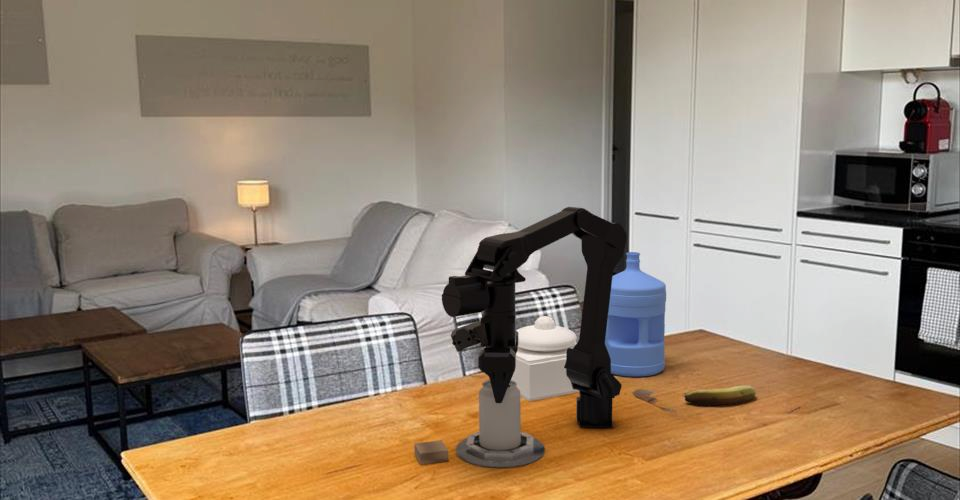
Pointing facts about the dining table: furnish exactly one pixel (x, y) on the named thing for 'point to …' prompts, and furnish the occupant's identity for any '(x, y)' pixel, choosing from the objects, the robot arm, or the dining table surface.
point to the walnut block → (431, 452)
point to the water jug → (636, 322)
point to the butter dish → (543, 360)
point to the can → (499, 419)
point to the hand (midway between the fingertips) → (500, 394)
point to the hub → (500, 452)
